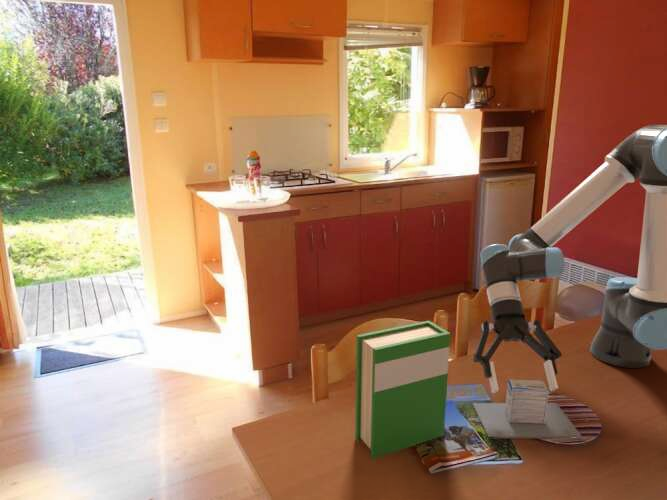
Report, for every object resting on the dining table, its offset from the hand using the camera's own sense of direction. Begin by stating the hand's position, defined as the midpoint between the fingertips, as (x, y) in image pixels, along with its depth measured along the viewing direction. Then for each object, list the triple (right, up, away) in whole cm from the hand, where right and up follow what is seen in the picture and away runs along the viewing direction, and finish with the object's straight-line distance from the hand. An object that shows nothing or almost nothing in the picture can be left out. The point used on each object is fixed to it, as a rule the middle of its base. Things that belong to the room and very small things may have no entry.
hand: (524, 390), depth 117 cm
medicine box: (0, -7, +1) cm, 7 cm away
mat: (0, -7, +1) cm, 7 cm away
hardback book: (-29, -9, -5) cm, 31 cm away
